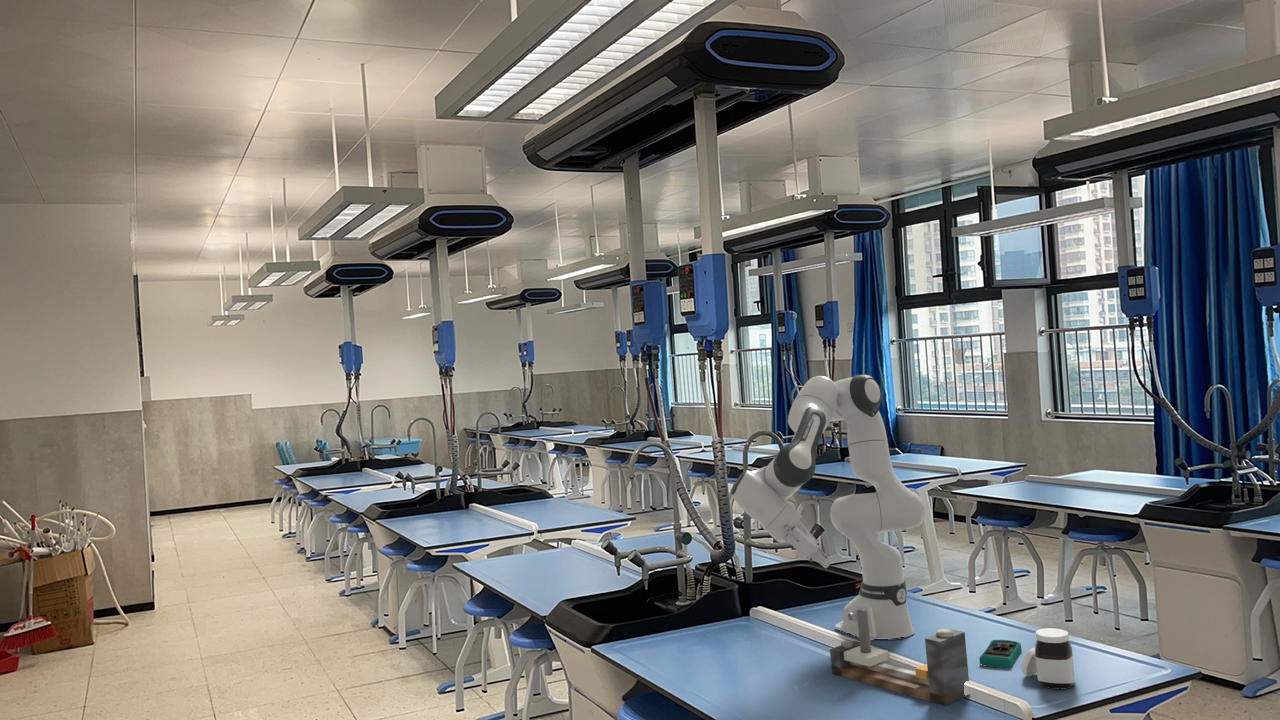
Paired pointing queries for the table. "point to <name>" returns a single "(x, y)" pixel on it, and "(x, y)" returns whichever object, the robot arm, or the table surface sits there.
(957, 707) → the table surface
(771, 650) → the table surface
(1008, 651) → the digital multimeter
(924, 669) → the orange end stop block
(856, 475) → the robot arm
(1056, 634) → the spread jar
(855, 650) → the carriage
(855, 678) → the slider track rig
